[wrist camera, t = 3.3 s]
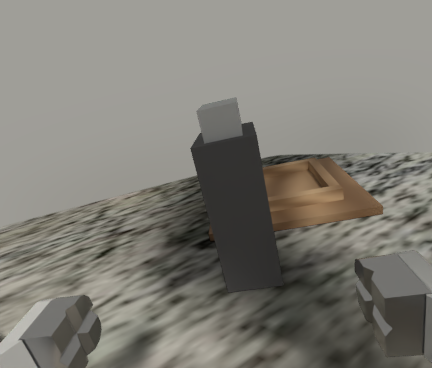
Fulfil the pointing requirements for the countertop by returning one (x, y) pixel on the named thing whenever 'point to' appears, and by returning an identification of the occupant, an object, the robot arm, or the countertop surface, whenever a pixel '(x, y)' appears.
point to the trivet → (314, 194)
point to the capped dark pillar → (236, 197)
